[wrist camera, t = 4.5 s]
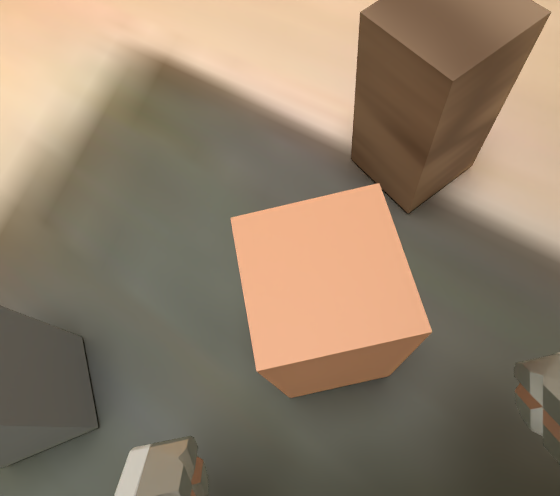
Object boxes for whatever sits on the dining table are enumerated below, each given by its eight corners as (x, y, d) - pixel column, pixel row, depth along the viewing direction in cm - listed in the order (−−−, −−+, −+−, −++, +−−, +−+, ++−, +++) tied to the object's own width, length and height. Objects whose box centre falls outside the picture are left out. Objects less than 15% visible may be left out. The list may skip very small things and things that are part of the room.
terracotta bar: (361, 282, 21) (379, 183, 12) (389, 376, 19) (432, 331, 11) (271, 302, 21) (230, 217, 12) (290, 397, 19) (256, 371, 11)
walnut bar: (411, 115, 24) (451, -47, 16) (471, 165, 22) (551, 11, 14) (351, 158, 23) (360, 12, 15) (408, 213, 22) (452, 81, 14)
